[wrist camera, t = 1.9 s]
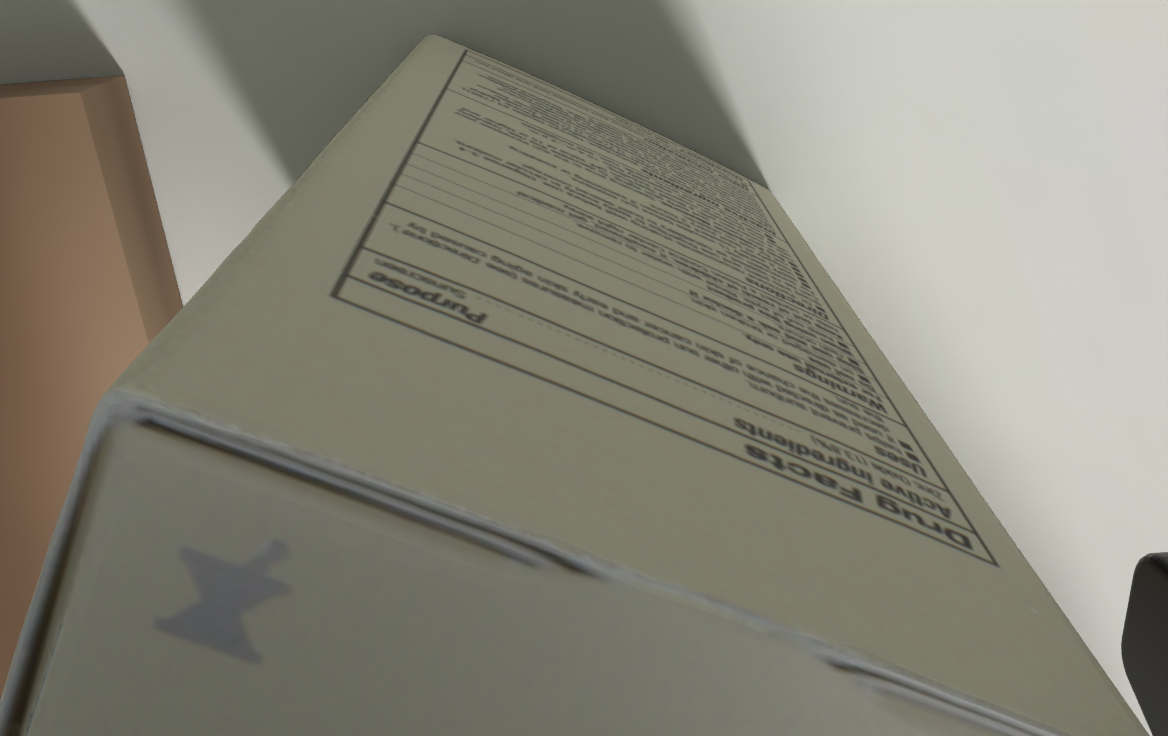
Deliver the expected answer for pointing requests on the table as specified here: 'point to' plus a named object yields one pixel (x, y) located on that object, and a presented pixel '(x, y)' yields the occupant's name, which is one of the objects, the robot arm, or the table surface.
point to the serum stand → (66, 300)
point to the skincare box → (530, 470)
